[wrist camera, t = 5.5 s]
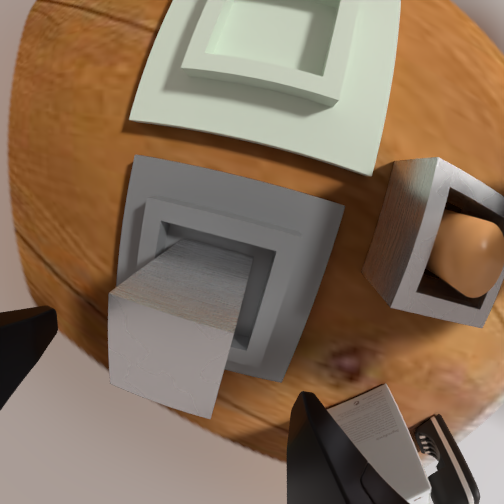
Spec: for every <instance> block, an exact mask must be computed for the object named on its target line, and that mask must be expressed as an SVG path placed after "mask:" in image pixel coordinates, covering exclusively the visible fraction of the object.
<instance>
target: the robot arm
mask: <svg viewBox="0 0 504 504" xmlns="http://www.w3.org/2000/svg"><path fill="white" fill-rule="evenodd" d="M57 330H58V324H57V314H56V311H55V309H53V308H51V307H49V306H40V307H34V308H27V309H21V310H14V311H8V312H1V313H0V410H1V409H2V407H3V406H4V405H5V403H6V402H7V401H8V399H9V398H10V397H11V395H12V394H13V393H14V391H15V390H16V388H17V387H18V386H19V385H20V383H21V382H22V381H23V379H24V378H25V377H26V376H27V374H28V373H29V372H30V370H31V369H32V368H33V367H34V365H35V364H36V363H37V362H38V360H39V359H40V357H41V356H42V354H43V353H44V351H45V350H46V348H47V347H48V345H49V344H50V342H51V341H52V339H53V338H54V336H55V335H56V333H57ZM287 504H410V503H408V502H407V501H406V500H405V499H404V498H403V497H402V496H401V495H400V494H398V493H397V492H396V491H395V490H394V489H393V488H392V487H391V486H390V485H389V484H388V483H387V482H386V481H385V480H384V479H383V478H382V477H381V476H380V475H379V473H378V472H377V471H376V470H375V469H374V468H373V467H372V465H371V464H370V463H368V461H367V459H366V458H365V457H364V456H363V455H362V453H361V452H360V451H359V450H358V448H357V447H356V446H355V445H354V444H353V442H352V441H351V440H350V439H349V437H348V436H347V435H346V434H345V432H344V431H343V430H342V429H341V427H340V426H339V425H338V424H337V422H336V421H335V420H334V419H333V417H332V416H331V415H330V413H329V412H328V411H327V410H326V408H325V407H324V406H323V404H322V403H321V402H320V401H319V399H318V398H317V397H316V395H315V394H314V393H312V392H305V391H302V392H301V393H300V394H299V396H298V398H297V400H296V401H295V403H294V405H293V407H292V410H291V416H290V426H289V435H288V443H287Z"/></svg>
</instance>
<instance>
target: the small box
mask: <svg viewBox="0 0 504 504" xmlns="http://www.w3.org/2000/svg"><path fill="white" fill-rule="evenodd" d="M327 411H328V412H329V413H330V415H331V416H332V417H333V419H334V420H335V421H336V422H337V424H338V425H339V426H340V427H341V429H342V430H343V431H344V432H345V434H346V435H347V436H348V437H349V439H350V440H351V441H352V442H353V444H354V445H355V446H356V447H357V448H358V450H359V451H360V452H361V453H362V455H363V456H364V457H365V458H366V459H367V461H368V463H370V464H371V465H372V467H373V468H374V469H375V470H376V471H377V472H378V473H379V475H380V476H381V477H382V478H383V479H384V480H385V481H386V482H387V483H388V484H389V485H390V486H391V487H392V488H393V489H394V490H395V491H396V492H397V493H398V494H400V495H401V496H402V497H403V498H404V499H405V500H406V501H407V502H408V503H410V504H430V494H431V485H430V482H429V480H428V478H427V475H426V473H425V470H424V467H423V465H422V462H421V460H420V457H419V455H418V452H417V450H416V447H415V445H414V442H413V440H412V438H411V435H410V433H409V430H408V428H407V426H406V424H405V421H404V419H403V417H402V415H401V413H400V410H399V408H398V406H397V404H396V402H395V400H394V398H393V396H392V394H391V392H390V390H389V387H388V386H387V384H384V385H382V386H380V387H378V388H375V389H373V390H371V391H369V392H367V393H365V394H363V395H360V396H358V397H356V398H354V399H351V400H349V401H347V402H344V403H342V404H339V405H337V406H334V407H332V408H329V409H327Z"/></svg>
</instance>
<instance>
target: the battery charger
mask: <svg viewBox="0 0 504 504" xmlns="http://www.w3.org/2000/svg"><path fill="white" fill-rule="evenodd" d="M415 437H416V440H417V442H418V445H419V447H420V450H421V452H422V453H426V454H429V455H431V456H433V457H434V458H436V459H437V460H438V461H439V463H438V465H437V466H436V467H437V470H438V471H436V472H435V473H433V474H432V475H430V476H429V477H428V480H429V482H430V485H431V494H430V496H431V498H432V501H433V503H434V504H479V500H480V493H479V490H478V487H477V485H476V482H475V480H474V478H473V476H472V473H471V471H470V469H469V467H468V465H467V463H466V461H465V459H464V457H463V455H462V453H461V451H460V449H459V447H458V446H457V444H456V442H455V440H454V438H453V436H452V434H451V433H450V431H449V429H448V427H447V425H446V423H445V422H444V420H443V418H442V416H441V415H440V414H438V415H436V416H435V417H434V416H433V417H432V418H430V420H428V421H426V422H425V423H423V424H422V425H421V426H419V427H418V428H417V429H416V431H415Z"/></svg>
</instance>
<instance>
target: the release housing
mask: <svg viewBox="0 0 504 504" xmlns="http://www.w3.org/2000/svg"><path fill="white" fill-rule="evenodd" d="M446 201H447V202H449V203H451V204H453V205H455V206H457V207H459V208H461V209H462V211H461V214H465V215H468V216H472V217H476V218H479V219H483V220H486V221H489V222H492V223H494V224H495V225H497V226H498V227H499V229H500V230H501V232H502V234H503V237H504V197H503V196H502V195H501V194H499V193H498V192H496V191H495V190H493V189H492V188H490V187H489V186H487V185H485V184H484V183H482V182H481V181H479V180H477V179H476V178H474V177H472V176H471V175H469V174H467V173H466V172H464V171H462V170H461V169H459V168H457V167H455V166H453V165H452V164H450V163H448V162H446V161H444V160H442V159H440V158H439V157H434V158H421V159H410V160H400V161H394V164H393V169H392V173H391V177H390V180H389V184H388V188H387V192H386V195H385V199H384V203H383V206H382V210H381V213H380V216H379V220H378V223H377V226H376V229H375V232H374V236H373V239H372V242H371V245H370V248H369V251H368V254H367V256H366V259H365V262H364V265H363V268H362V271H361V273H362V274H363V275H364V276H365V278H366V279H367V280H368V281H369V282H370V283H371V285H372V286H373V287H374V288H375V289H376V291H377V292H378V293H379V294H380V295H381V297H382V298H383V299H384V300H385V301H386V303H387V304H388V305H389V306H390V308H394V309H399V310H403V311H407V312H411V313H416V314H420V315H424V316H429V317H433V318H438V319H442V320H446V321H451V322H455V323H460V324H465V325H469V326H474V327H478V328H483V326H484V324H485V322H486V319H487V317H488V315H489V313H490V311H491V308H492V306H493V304H494V302H495V299H496V297H497V294H498V292H499V289H500V287H501V284H502V282H503V279H504V266H503V269H502V272H501V274H500V276H499V278H498V280H497V282H496V283H495V284H494V286H493V287H492V288H491V289H490V290H489V291H488V292H487V293H485V294H484V295H482V296H480V297H476V298H470V297H467V296H465V295H464V294H462V293H461V292H459V291H458V290H457V289H455V288H454V287H452V286H451V285H450V284H448V283H447V282H445V281H444V280H443V279H441V278H440V279H437V278H434V277H430V276H427V275H424V274H423V273H424V270H425V268H426V265H427V262H428V259H429V257H430V254H431V251H432V248H433V245H434V242H435V239H436V236H437V232H438V229H439V226H440V222H441V219H442V215H443V212H444V208H445V204H446Z"/></svg>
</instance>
